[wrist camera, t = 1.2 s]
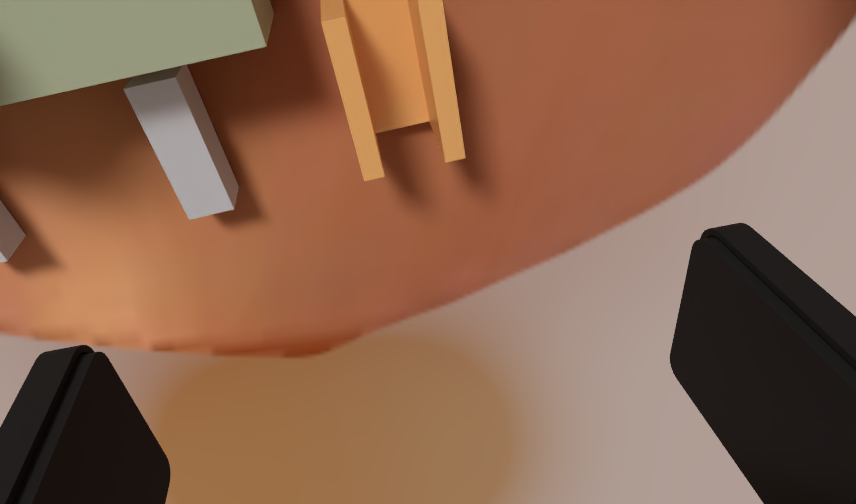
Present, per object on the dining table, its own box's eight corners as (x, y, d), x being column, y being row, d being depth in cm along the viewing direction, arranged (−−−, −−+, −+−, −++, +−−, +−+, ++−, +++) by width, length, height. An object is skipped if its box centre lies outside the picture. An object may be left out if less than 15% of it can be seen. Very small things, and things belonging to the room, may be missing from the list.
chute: (419, -34, 23) (441, -5, 19) (443, 108, 27) (465, 157, 23) (320, -12, 23) (321, 22, 19) (357, 127, 26) (364, 181, 22)
